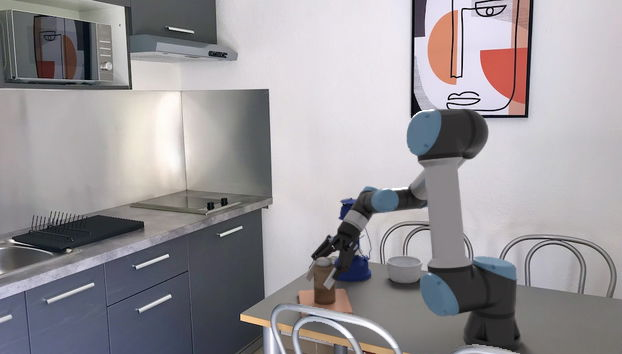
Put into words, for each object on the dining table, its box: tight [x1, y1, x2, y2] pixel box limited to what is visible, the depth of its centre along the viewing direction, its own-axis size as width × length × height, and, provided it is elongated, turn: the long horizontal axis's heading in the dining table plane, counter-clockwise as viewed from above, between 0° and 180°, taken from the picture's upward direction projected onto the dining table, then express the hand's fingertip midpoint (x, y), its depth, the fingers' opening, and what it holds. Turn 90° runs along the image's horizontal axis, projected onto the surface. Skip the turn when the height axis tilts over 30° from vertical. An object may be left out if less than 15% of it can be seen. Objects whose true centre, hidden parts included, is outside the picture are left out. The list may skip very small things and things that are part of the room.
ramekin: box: [385, 254, 423, 284], centre depth 198 cm, size 13×13×7 cm
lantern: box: [333, 197, 372, 283], centre depth 201 cm, size 17×15×30 cm
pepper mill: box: [313, 256, 336, 305], centre depth 173 cm, size 7×7×14 cm
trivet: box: [298, 288, 354, 317], centre depth 175 cm, size 20×16×2 cm
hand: (316, 283), depth 171 cm, fingers open, 9 cm apart
